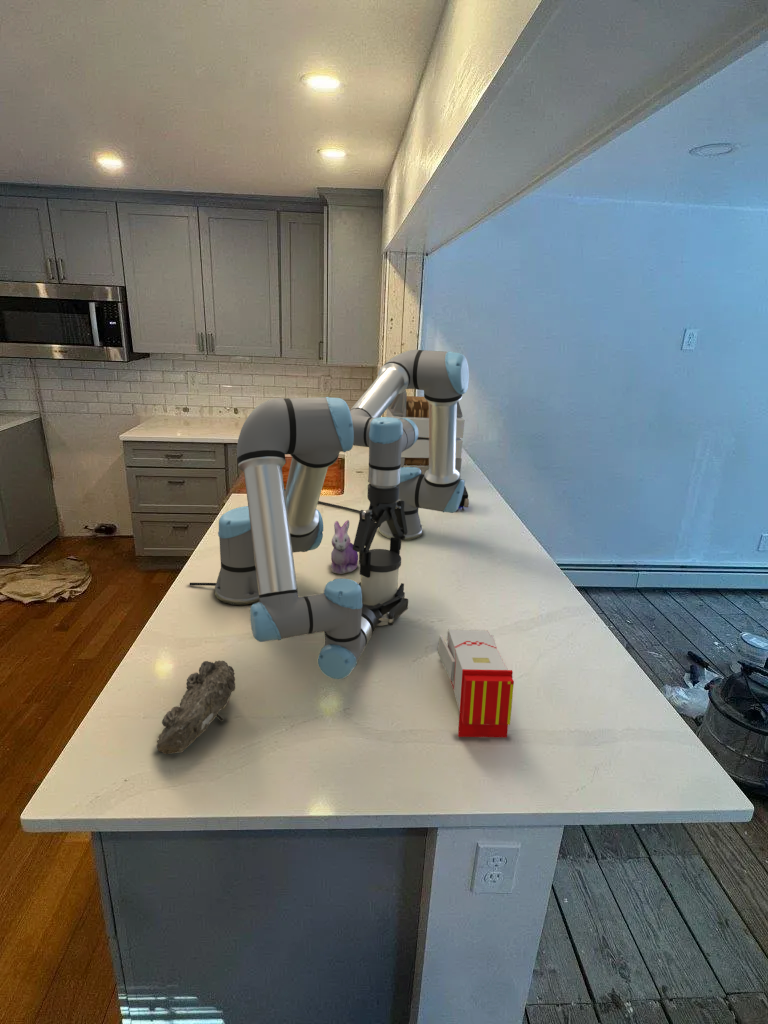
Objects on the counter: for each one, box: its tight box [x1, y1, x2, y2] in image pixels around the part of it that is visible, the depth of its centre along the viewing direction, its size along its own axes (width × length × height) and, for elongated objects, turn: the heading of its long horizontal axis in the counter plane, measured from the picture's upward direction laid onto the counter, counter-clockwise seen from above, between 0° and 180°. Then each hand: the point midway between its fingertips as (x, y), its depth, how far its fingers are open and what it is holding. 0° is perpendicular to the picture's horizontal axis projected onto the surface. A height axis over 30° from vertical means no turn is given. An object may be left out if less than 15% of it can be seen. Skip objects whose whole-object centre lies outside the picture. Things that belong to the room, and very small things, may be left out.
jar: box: [360, 567, 400, 627], centre depth 143 cm, size 9×9×16 cm
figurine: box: [330, 519, 359, 575], centre depth 169 cm, size 9×10×15 cm
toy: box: [437, 628, 515, 738], centre depth 117 cm, size 12×13×30 cm
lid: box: [369, 548, 402, 572], centre depth 141 cm, size 10×10×2 cm
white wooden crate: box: [385, 389, 465, 479], centre depth 268 cm, size 34×33×41 cm
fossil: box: [156, 660, 236, 755], centre depth 106 cm, size 22×10×15 cm
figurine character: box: [458, 485, 470, 512], centre depth 229 cm, size 7×8×15 cm
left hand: (383, 584), depth 148 cm, fingers closed on jar, 9 cm apart
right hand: (379, 568), depth 142 cm, fingers closed on lid, 10 cm apart
